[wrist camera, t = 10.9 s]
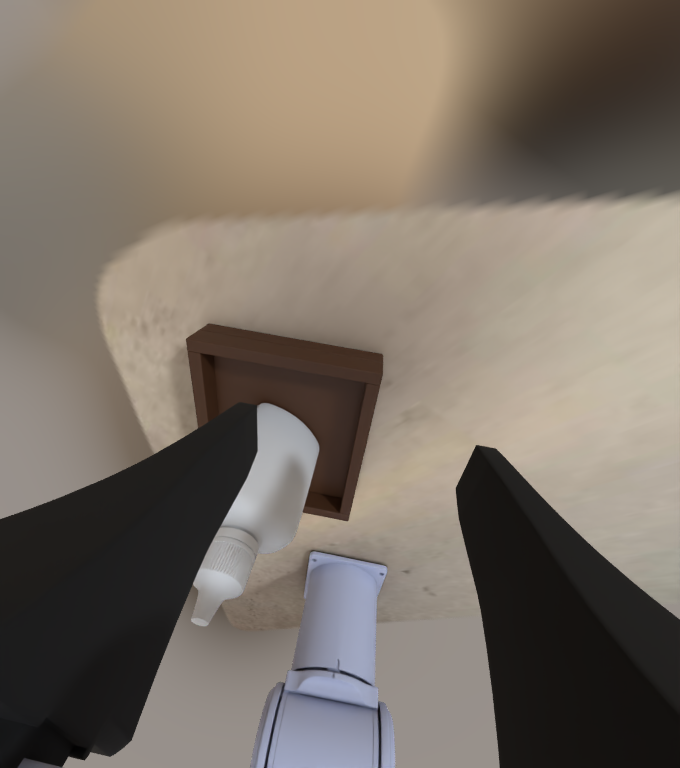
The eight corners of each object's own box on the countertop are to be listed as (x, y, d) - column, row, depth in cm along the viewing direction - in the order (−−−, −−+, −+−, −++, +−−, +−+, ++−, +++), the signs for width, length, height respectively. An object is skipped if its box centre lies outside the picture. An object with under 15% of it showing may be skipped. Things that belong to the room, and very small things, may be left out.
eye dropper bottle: (273, 462, 24) (191, 652, 14) (241, 404, 22) (112, 584, 11) (325, 454, 23) (276, 655, 13) (298, 392, 21) (211, 580, 10)
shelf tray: (351, 494, 27) (348, 521, 24) (222, 469, 27) (206, 493, 25) (383, 353, 20) (383, 374, 17) (208, 323, 20) (185, 338, 18)
